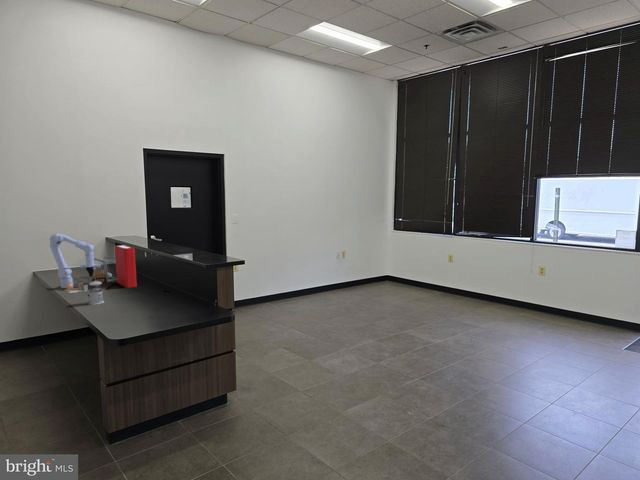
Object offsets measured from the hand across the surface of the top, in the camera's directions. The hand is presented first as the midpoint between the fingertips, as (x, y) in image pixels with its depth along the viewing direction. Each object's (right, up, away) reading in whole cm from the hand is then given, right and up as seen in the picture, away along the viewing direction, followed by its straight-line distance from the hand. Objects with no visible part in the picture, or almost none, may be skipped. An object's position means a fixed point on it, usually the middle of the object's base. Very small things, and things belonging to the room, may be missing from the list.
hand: (91, 276), depth 337 cm
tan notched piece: (-9, -11, -8) cm, 16 cm away
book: (+23, -8, +13) cm, 27 cm away
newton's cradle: (-7, -5, +37) cm, 37 cm away
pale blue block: (-2, -11, -15) cm, 19 cm away
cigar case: (-2, -8, +17) cm, 19 cm away
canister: (-12, -9, -9) cm, 17 cm away
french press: (+27, -15, -42) cm, 52 cm away
